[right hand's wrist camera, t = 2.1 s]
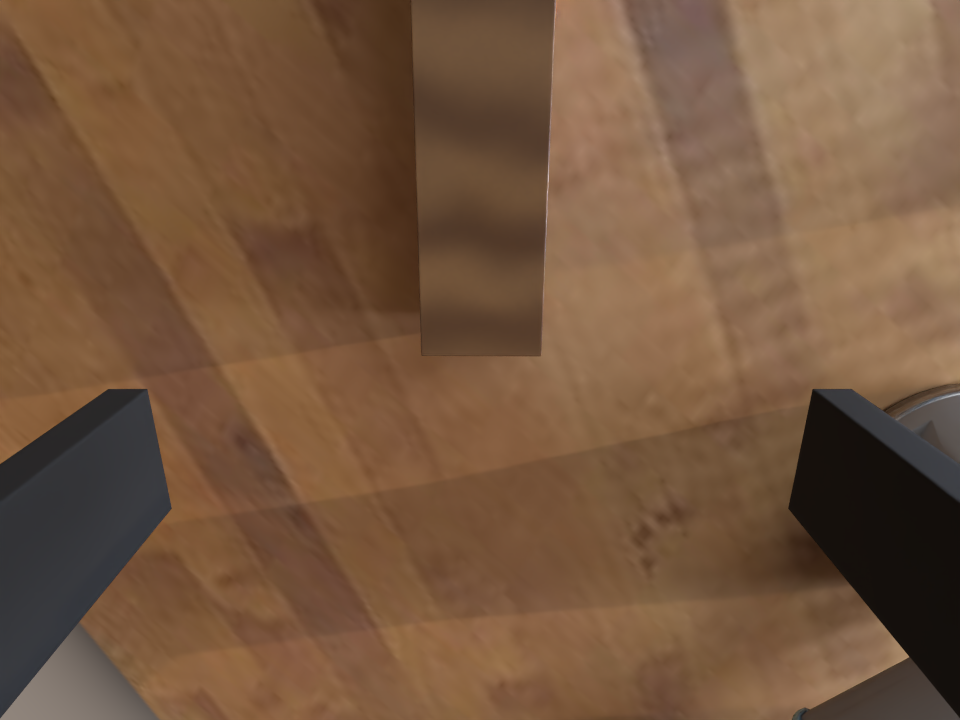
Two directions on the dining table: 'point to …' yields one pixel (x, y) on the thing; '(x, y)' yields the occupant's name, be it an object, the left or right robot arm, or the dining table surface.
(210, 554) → the dining table surface
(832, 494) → the right robot arm
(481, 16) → the post
